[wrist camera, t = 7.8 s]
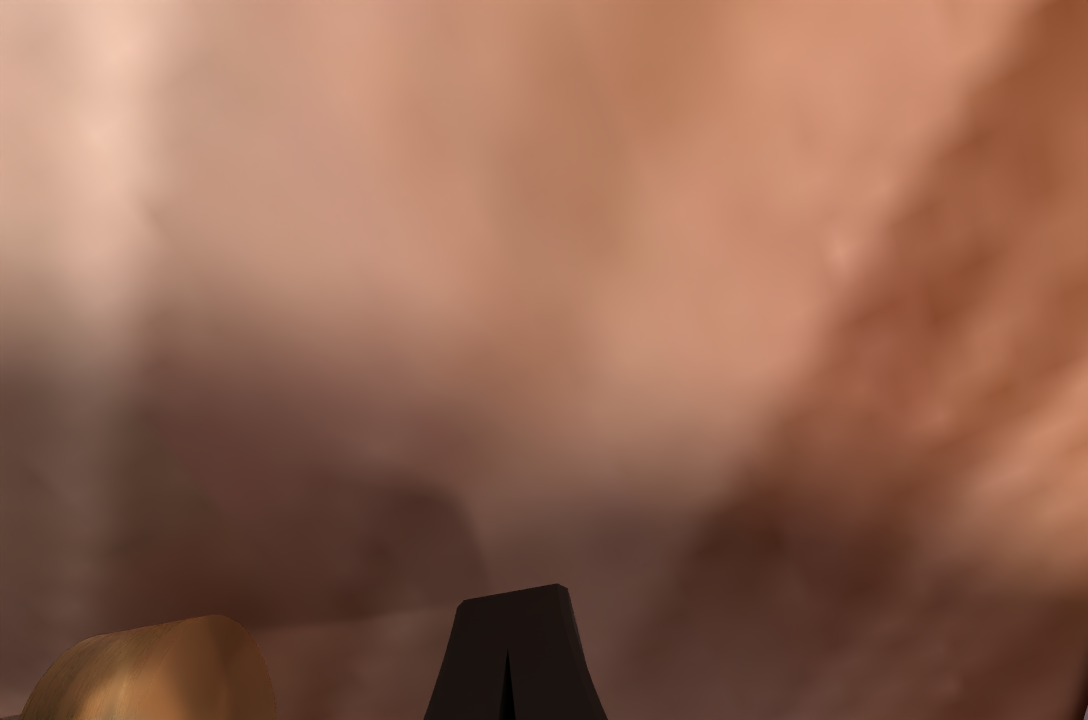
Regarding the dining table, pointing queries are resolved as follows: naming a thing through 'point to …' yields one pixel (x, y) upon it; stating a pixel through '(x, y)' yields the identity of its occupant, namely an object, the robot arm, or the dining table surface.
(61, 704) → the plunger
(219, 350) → the dining table surface
